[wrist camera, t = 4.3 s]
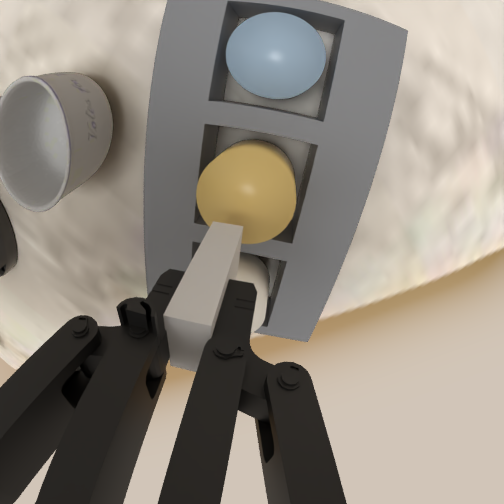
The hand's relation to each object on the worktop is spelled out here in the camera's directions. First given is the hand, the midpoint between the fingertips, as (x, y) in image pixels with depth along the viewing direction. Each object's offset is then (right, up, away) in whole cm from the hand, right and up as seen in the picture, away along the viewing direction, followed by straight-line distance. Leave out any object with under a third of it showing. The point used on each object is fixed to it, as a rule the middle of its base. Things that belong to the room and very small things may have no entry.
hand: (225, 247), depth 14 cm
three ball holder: (+2, +6, +7) cm, 9 cm away
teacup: (-15, +12, +6) cm, 21 cm away
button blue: (+3, +13, +2) cm, 13 cm away
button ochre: (+1, +5, +5) cm, 7 cm away
